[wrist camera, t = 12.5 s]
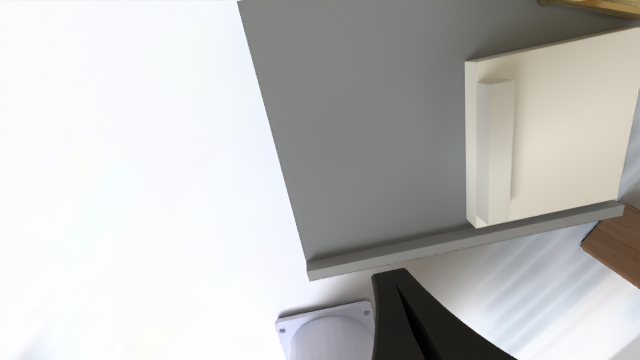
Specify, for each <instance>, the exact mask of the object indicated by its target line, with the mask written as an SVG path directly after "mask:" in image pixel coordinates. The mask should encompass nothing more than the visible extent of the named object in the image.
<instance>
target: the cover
mask: <svg viewBox="0 0 640 360" xmlns="http://www.w3.org/2000/svg"><path fill="white" fill-rule="evenodd" d="M639 88H640V25H637V26H627V27H622V28H618V29H613V30H609V31H604V32H599V33H595V34H590V35H585V36H581V37H576V38H571V39H567V40H562V41H558V42H553V43H548V44H544V45H539V46H534V47H530V48H525V49H520V50H516V51H511V52H507V53H502V54H497V55H493V56H488V57H483V58H479V59H474V60H469V61H465V135H466V218H467V220H468V221H469V222H470V223H471V224H472V225H473V226H474V227H475V228H481V227H485V226H490V225H495V224H500V223H504V222H509V221H514V220H519V219H523V218H528V217H533V216H538V215H542V214H547V213H552V212H556V211H561V210H566V209H571V208H575V207H580V206H585V205H590V204H594V203H599V202H604V201H609V200H613V199H617V196H618V191H619V186H620V181H621V176H622V171H623V166H624V162H625V157H626V152H627V147H628V142H629V137H630V132H631V127H632V123H633V118H634V113H635V108H636V103H637V98H638V93H639Z"/></svg>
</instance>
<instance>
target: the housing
mask: <svg viewBox="0 0 640 360" xmlns="http://www.w3.org/2000/svg"><path fill="white" fill-rule="evenodd" d="M237 4H238V8H239V12H240V16H241V19H242V23H243V27H244V31H245V34H246V38H247V42H248V46H249V49H250V53H251V57H252V61H253V64H254V68H255V72H256V76H257V79H258V83H259V87H260V90H261V94H262V98H263V102H264V105H265V109H266V113H267V117H268V120H269V124H270V128H271V132H272V135H273V139H274V143H275V147H276V150H277V154H278V158H279V162H280V165H281V169H282V173H283V177H284V180H285V184H286V188H287V192H288V195H289V199H290V203H291V207H292V210H293V214H294V218H295V222H296V225H297V229H298V233H299V237H300V240H301V244H302V248H303V251H304V255H305V259H306V264H307V274H308V278H309V281H314V280H319V279H324V278H328V277H333V276H338V275H343V274H347V273H352V272H357V271H362V270H366V269H371V268H376V267H381V266H385V265H390V264H395V263H400V262H404V261H409V260H414V259H419V258H423V257H428V256H433V255H438V254H442V253H447V252H452V251H457V250H461V249H466V248H471V247H476V246H480V245H485V244H490V243H495V242H499V241H504V240H509V239H514V238H518V237H523V236H528V235H533V234H537V233H542V232H547V231H552V230H556V229H561V228H566V227H571V226H575V225H580V224H585V223H590V222H594V221H599V220H604V219H609V218H613V217H618V216H623V211H624V207H625V205H624V204H622V203H620V202H617V201H615V200H609V201H604V202H599V203H594V204H590V205H585V206H580V207H575V208H571V209H566V210H561V211H556V212H552V213H547V214H542V215H538V216H533V217H528V218H523V219H519V220H514V221H509V222H504V223H500V224H495V225H490V226H485V227H481V228H475V227H474V226H473V225H472V224H471V223H470V222H469V221H468V220H467V218H466V135H465V61H469V60H474V59H479V58H483V57H488V56H493V55H497V54H502V53H507V52H511V51H516V50H520V49H525V48H530V47H534V46H539V45H544V44H548V43H553V42H558V41H562V40H567V39H571V38H576V37H581V36H585V35H590V34H595V33H599V32H604V31H609V30H613V29H618V28H622V27H627V26H637V25H640V20H635V19H629V18H624V17H618V16H612V15H607V14H601V13H595V12H590V11H584V10H579V9H573V8H567V7H562V6H550V7H542V6H540V5H539V4H538V3H537V0H241V1H237Z"/></svg>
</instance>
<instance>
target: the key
mask: <svg viewBox="0 0 640 360" xmlns="http://www.w3.org/2000/svg"><path fill="white" fill-rule="evenodd" d="M537 3H538V4H539V5H540V6H542V7H550V6H562V7H567V8H573V9H579V10H584V11H590V12H595V13H601V14H607V15H612V16H618V17H624V18H629V19H635V20H640V0H537Z"/></svg>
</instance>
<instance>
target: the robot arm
mask: <svg viewBox="0 0 640 360" xmlns="http://www.w3.org/2000/svg"><path fill="white" fill-rule="evenodd" d="M371 279H372V285H373V291H374V297H375V303H376V320H375V322H374V316H373V311H372V306H371V303H370V302H369V301H360V302H356V303H351V304H346V305H341V306H337V307H332V308H327V309H322V310H317V311H313V312H308V313H303V314H298V315H294V316H289V317H284V318H280V319H277V320H276V322H275V328H276V331H277V334H278V337H279V340H280V342H281V345H282V348H283V351H284V354H285V357H286V359H287V360H518V359H516V358H514V357H513V356H511V355H509V354H508V353H506V352H504V351H503V350H501V349H500V348H498V347H497V346H495V345H494V344H492V343H491V342H489V341H488V340H486V339H485V338H484V337H482V336H481V335H479V334H478V333H476V332H475V331H474V330H472V329H471V328H470V327H468V326H467V325H466V324H465V323H463V322H462V321H461V320H460V319H458V318H457V317H456V316H455V315H453V314H452V313H451V312H450V311H449V310H447V309H446V308H445V307H444V306H443V305H442V304H441V303H440V302H438V301H437V300H436V299H435V298H434V297H433V296H432V295H431V294H430V293H429V292H428V291H427V290H426V289H425V288H424V287H423V286H422V285H421V284H420V283H419V282H418V281H417V280H416V279H415V278H414V277H413V276H412V275H411V274H410V273H409V272H408V270H407V269H405V268H401V269H396V270H391V271H386V272H382V273H377V274H373V276H372V277H371ZM365 311H367V312H365ZM281 328H284V329H281Z"/></svg>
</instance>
